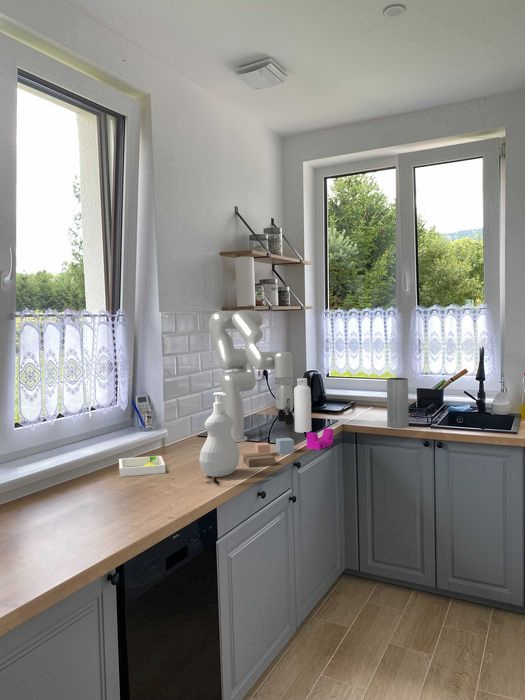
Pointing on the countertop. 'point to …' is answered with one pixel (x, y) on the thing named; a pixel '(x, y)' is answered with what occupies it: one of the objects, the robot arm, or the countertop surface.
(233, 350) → the robot arm
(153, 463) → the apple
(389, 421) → the vase
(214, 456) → the soap bottle
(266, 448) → the terracotta cube
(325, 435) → the toy block
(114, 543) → the countertop surface
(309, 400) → the bottle
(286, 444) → the slate block
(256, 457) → the walnut base plate
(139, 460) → the ceramic fruit dish rim
